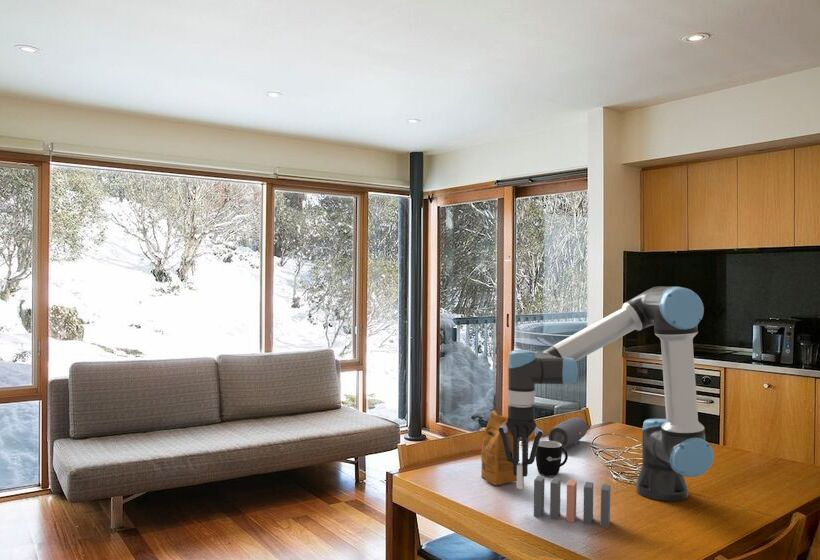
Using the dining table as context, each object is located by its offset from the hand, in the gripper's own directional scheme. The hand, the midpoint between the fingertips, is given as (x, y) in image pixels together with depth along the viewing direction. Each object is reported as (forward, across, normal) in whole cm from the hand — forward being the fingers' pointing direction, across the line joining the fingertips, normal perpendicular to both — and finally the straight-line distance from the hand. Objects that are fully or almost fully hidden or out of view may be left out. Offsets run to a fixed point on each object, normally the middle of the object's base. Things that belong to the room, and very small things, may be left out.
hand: (520, 486), depth 184 cm
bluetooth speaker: (+7, -2, -79) cm, 79 cm away
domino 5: (+7, -23, 0) cm, 24 cm away
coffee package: (+7, +13, -25) cm, 29 cm away
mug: (+7, -2, -40) cm, 41 cm away
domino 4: (+7, -19, 0) cm, 20 cm away
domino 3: (+7, -14, 0) cm, 16 cm away
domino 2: (+7, -10, 0) cm, 12 cm away
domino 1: (+7, -5, 0) cm, 9 cm away
